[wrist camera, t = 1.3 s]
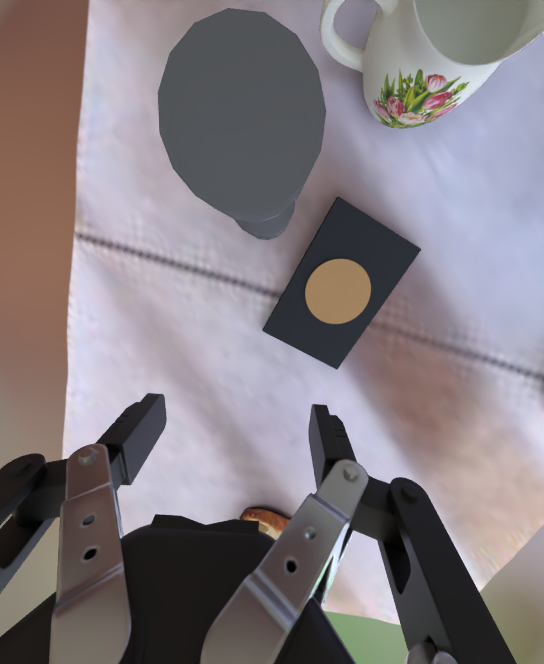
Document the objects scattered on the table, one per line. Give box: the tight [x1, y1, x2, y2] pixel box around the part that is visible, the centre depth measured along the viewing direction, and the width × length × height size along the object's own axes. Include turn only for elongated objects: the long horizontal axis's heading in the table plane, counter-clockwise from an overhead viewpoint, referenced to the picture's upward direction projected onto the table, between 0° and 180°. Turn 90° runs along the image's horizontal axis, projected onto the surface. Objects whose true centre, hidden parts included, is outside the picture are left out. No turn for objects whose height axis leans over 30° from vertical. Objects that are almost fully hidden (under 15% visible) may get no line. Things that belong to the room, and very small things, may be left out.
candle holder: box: [158, 8, 326, 240], centre depth 20 cm, size 6×6×25 cm
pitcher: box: [320, 0, 544, 129], centre depth 21 cm, size 11×18×14 cm, turn 81°
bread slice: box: [240, 508, 290, 540], centre depth 50 cm, size 18×18×4 cm
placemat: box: [263, 197, 421, 369], centre depth 35 cm, size 20×13×1 cm, turn 151°
